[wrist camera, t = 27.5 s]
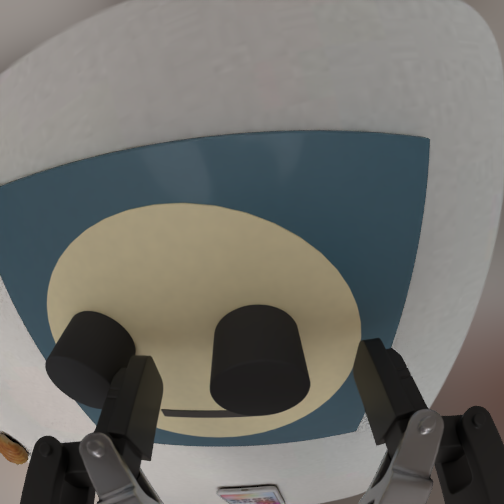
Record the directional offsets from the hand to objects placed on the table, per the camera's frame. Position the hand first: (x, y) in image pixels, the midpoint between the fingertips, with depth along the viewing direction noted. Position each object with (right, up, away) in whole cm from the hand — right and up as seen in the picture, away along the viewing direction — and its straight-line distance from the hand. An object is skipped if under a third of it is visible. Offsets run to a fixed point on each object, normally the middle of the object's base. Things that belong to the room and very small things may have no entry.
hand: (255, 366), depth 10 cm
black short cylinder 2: (0, +1, +2) cm, 2 cm away
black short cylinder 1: (-7, 0, +2) cm, 8 cm away
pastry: (-42, -29, +16) cm, 53 cm away
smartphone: (0, -29, +18) cm, 34 cm away
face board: (-3, -1, +3) cm, 4 cm away
